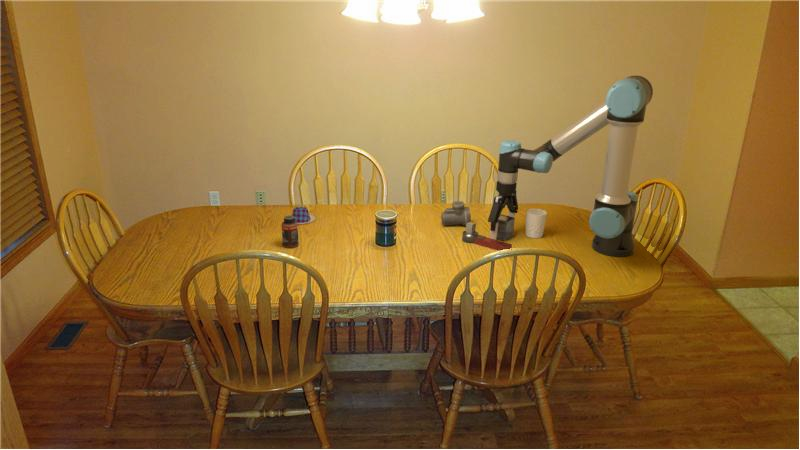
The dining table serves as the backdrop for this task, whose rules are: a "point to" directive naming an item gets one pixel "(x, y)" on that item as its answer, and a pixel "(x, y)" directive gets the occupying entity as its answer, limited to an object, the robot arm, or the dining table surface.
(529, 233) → the white cup
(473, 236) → the ratchet
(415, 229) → the dining table surface
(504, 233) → the dark metal cube
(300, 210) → the purple plaid hat
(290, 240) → the supplement bottle
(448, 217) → the pipe fitting
